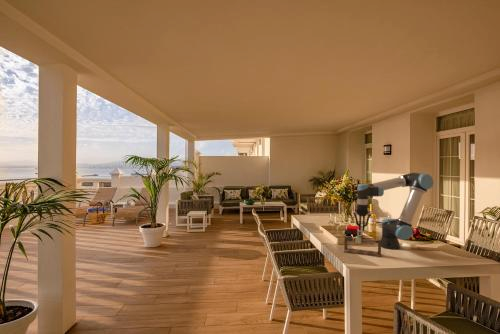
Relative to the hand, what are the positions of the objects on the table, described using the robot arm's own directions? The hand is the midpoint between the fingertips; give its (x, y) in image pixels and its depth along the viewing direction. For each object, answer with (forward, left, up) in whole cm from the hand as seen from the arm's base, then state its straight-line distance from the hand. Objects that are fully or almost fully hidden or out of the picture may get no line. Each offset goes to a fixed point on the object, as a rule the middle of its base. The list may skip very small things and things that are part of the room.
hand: (361, 234), depth 226 cm
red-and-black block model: (-22, -40, -14) cm, 47 cm away
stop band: (+4, -4, -6) cm, 8 cm away
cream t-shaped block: (+2, -2, -6) cm, 6 cm away
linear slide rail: (-1, 0, -14) cm, 14 cm away
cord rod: (-1, 0, -6) cm, 6 cm away
